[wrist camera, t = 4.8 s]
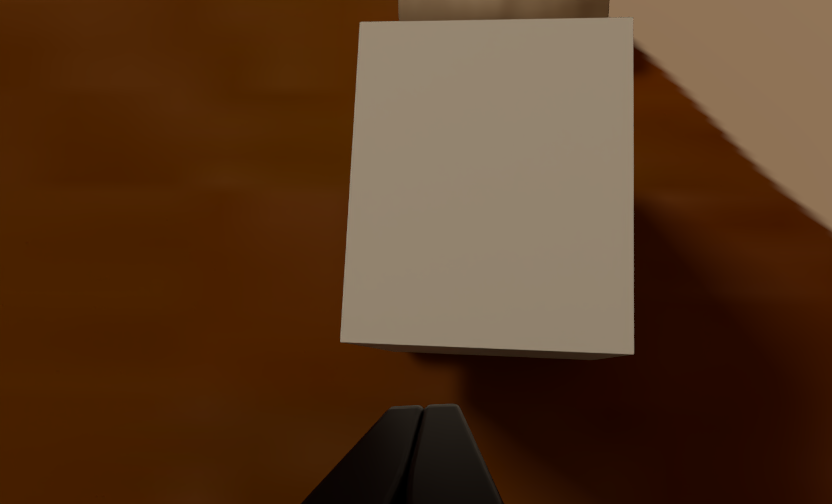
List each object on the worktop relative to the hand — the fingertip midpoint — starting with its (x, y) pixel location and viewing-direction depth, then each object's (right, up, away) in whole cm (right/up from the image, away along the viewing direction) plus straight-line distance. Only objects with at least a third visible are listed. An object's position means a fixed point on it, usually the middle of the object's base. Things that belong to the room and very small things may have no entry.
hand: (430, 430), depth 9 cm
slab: (+2, +2, +10) cm, 10 cm away
